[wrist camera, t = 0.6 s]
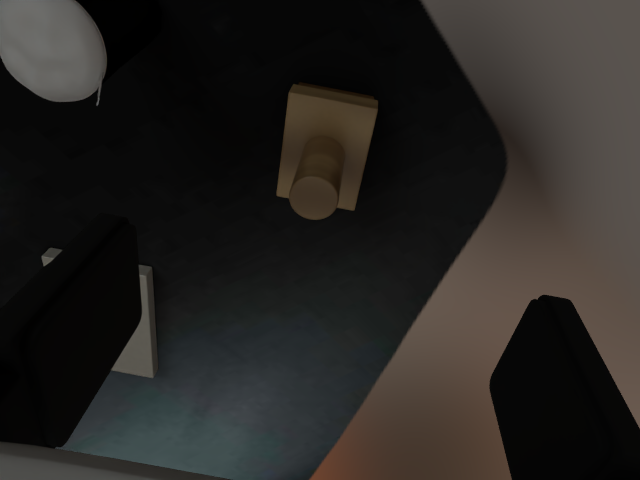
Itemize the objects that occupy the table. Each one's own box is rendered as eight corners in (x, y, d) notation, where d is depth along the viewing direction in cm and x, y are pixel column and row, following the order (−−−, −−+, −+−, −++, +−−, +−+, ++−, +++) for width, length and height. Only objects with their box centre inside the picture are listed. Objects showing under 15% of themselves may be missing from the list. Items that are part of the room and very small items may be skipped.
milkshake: (171, 79, 28) (83, 148, 20) (84, 27, 27) (-48, 76, 18) (200, 7, 25) (115, 50, 17) (106, -54, 24) (-34, -39, 16)
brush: (296, 77, 27) (270, 126, 21) (378, 93, 27) (378, 147, 21) (283, 176, 31) (258, 243, 24) (356, 190, 31) (349, 260, 24)
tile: (50, 246, 36) (40, 256, 35) (152, 266, 36) (146, 276, 35) (72, 351, 43) (65, 361, 42) (158, 368, 43) (153, 378, 42)
